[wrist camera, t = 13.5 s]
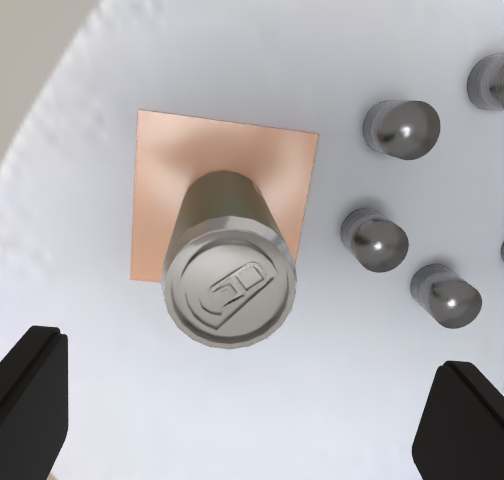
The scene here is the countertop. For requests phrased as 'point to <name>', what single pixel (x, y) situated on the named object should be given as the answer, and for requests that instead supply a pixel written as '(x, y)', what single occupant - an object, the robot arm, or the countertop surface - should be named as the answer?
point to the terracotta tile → (203, 162)
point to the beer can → (227, 264)
